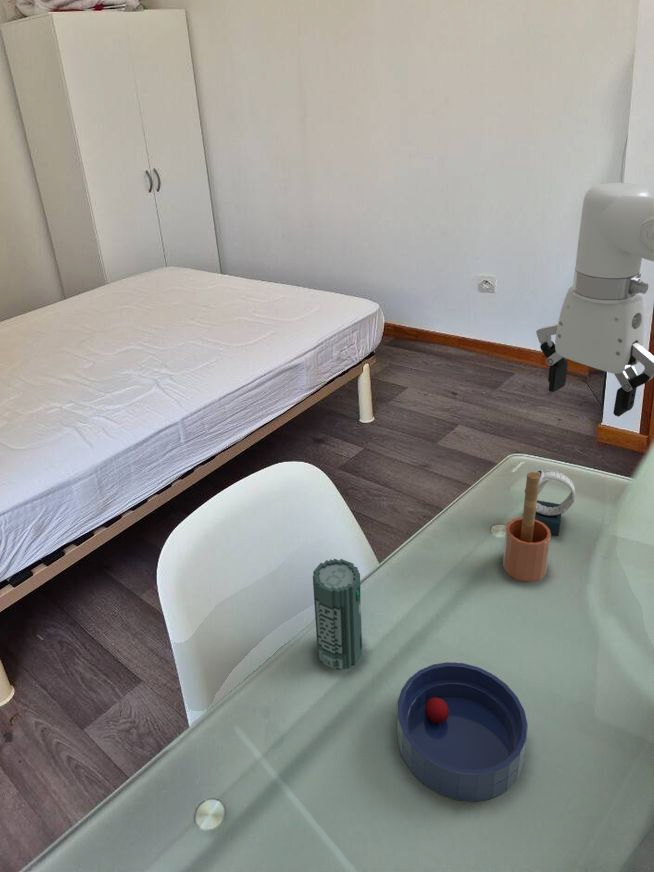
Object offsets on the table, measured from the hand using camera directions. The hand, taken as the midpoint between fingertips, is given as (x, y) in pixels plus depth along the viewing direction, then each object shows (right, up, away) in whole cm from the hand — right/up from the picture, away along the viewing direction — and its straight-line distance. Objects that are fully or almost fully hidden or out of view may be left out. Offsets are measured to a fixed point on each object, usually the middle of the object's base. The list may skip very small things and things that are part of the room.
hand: (587, 400), depth 96 cm
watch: (+4, -23, +26) cm, 35 cm away
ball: (-23, -38, -9) cm, 46 cm away
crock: (-3, -28, +16) cm, 33 cm away
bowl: (-21, -43, -10) cm, 48 cm away
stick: (-3, -28, +16) cm, 32 cm away
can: (-34, -37, +4) cm, 51 cm away
